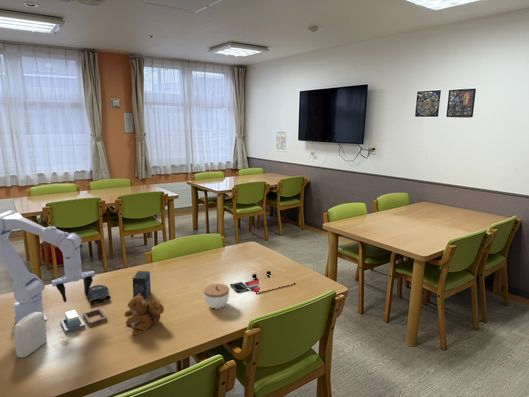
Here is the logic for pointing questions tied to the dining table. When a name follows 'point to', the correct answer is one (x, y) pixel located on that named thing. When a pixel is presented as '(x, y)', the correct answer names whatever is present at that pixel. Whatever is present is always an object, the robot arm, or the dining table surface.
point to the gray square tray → (72, 327)
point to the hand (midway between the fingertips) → (75, 298)
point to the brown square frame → (91, 323)
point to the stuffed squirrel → (143, 314)
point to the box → (141, 284)
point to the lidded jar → (216, 295)
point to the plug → (71, 319)
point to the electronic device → (98, 293)
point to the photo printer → (29, 334)
